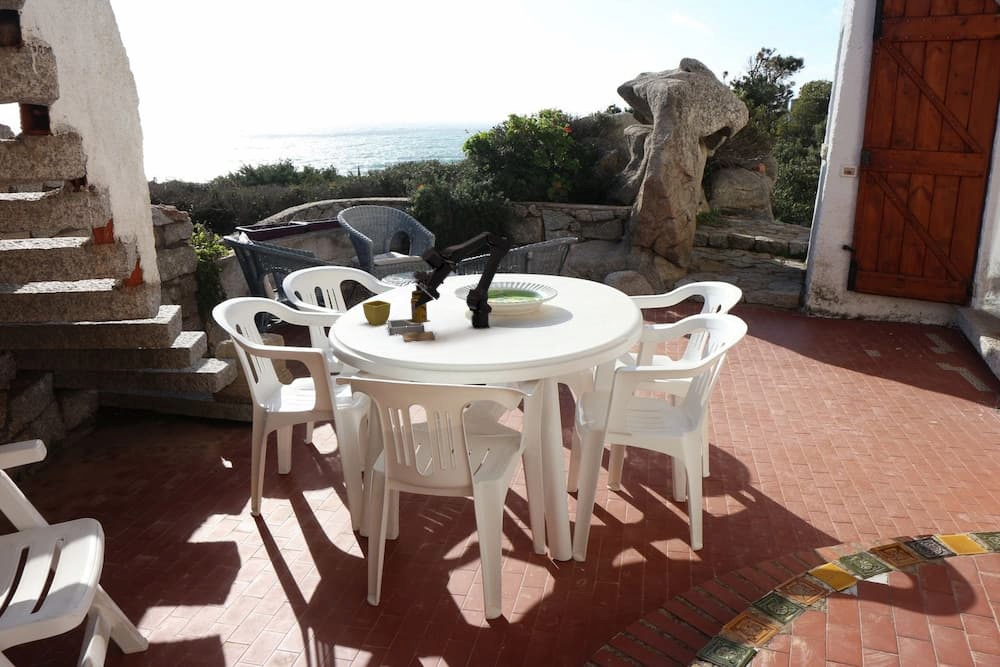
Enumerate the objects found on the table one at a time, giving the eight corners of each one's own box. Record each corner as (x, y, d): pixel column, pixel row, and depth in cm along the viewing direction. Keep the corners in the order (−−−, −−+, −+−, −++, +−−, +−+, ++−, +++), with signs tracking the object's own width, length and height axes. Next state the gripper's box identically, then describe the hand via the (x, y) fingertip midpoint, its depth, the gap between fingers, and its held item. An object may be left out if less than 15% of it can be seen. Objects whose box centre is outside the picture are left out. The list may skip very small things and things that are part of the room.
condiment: (431, 321, 289) (430, 291, 286) (411, 324, 285) (410, 294, 282) (422, 317, 295) (421, 288, 292) (403, 320, 291) (402, 291, 287)
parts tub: (421, 325, 310) (421, 318, 309) (424, 333, 298) (424, 325, 297) (388, 327, 307) (387, 320, 307) (389, 335, 295) (389, 328, 294)
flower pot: (392, 323, 314) (391, 302, 312) (375, 327, 308) (374, 306, 305) (379, 320, 320) (378, 299, 317) (363, 324, 314) (361, 303, 311)
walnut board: (432, 333, 297) (432, 331, 297) (435, 340, 287) (435, 337, 287) (402, 335, 295) (402, 333, 294) (404, 342, 285) (404, 339, 285)
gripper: (418, 258, 293) (393, 287, 293) (430, 265, 276) (403, 297, 276) (438, 275, 298) (413, 304, 297) (451, 284, 281) (424, 315, 281)
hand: (413, 305), depth 288 cm, fingers closed on condiment, 6 cm apart
